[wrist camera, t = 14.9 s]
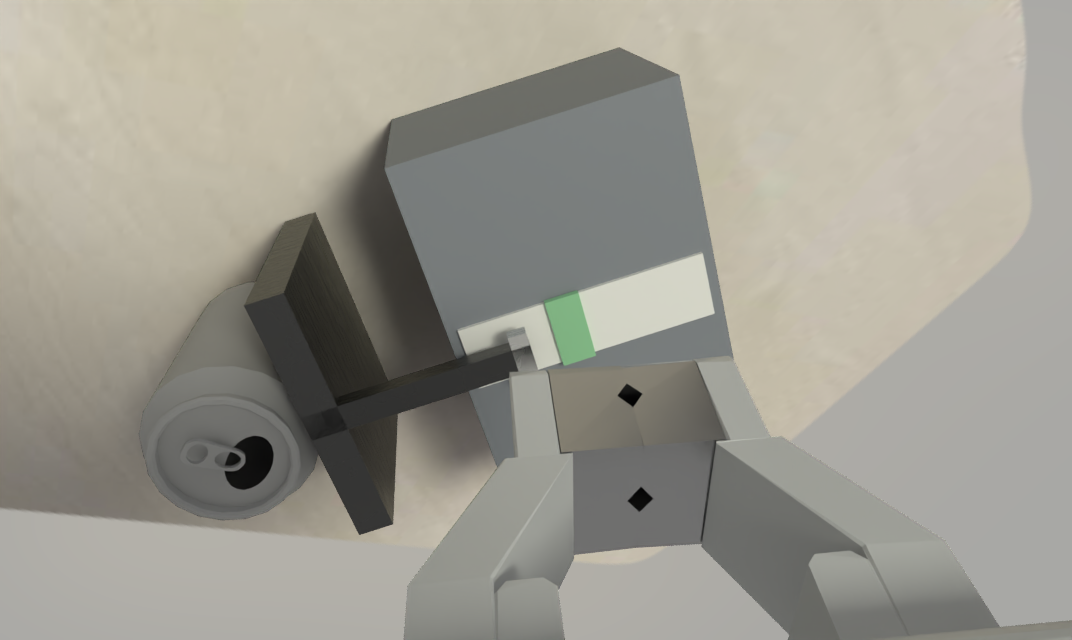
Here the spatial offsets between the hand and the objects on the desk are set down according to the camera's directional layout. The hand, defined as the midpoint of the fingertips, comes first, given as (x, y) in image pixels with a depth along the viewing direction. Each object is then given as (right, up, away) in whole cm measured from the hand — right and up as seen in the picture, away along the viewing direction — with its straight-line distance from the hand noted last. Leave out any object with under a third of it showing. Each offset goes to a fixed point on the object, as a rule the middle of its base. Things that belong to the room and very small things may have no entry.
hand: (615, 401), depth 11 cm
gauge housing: (0, +5, +33) cm, 33 cm away
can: (-16, 0, +33) cm, 36 cm away
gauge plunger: (-7, +2, +31) cm, 32 cm away
